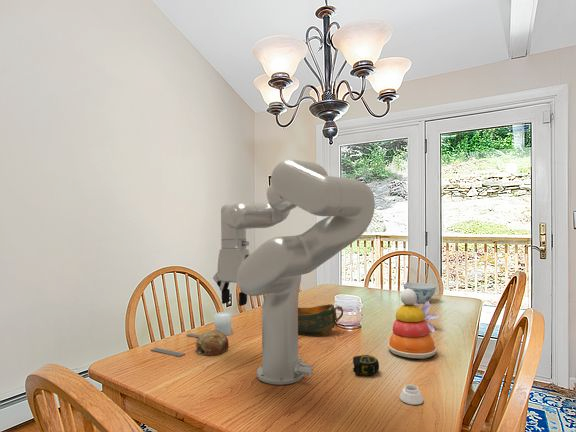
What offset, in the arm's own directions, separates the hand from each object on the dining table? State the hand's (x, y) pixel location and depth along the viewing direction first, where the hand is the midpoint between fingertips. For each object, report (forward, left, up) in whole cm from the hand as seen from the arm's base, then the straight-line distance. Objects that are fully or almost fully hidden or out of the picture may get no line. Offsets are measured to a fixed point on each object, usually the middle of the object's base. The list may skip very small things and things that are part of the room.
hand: (234, 303), depth 111 cm
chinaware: (-42, -96, -16) cm, 106 cm away
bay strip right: (+20, -8, -16) cm, 26 cm away
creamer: (-13, -29, -16) cm, 36 cm away
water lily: (-48, -50, -16) cm, 71 cm away
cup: (+16, -15, -16) cm, 27 cm away
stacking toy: (-48, -24, -16) cm, 56 cm away
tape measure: (-39, -4, -16) cm, 42 cm away
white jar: (-52, +6, -16) cm, 55 cm away
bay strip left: (+20, +8, -16) cm, 26 cm away
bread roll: (+9, 0, -16) cm, 18 cm away
